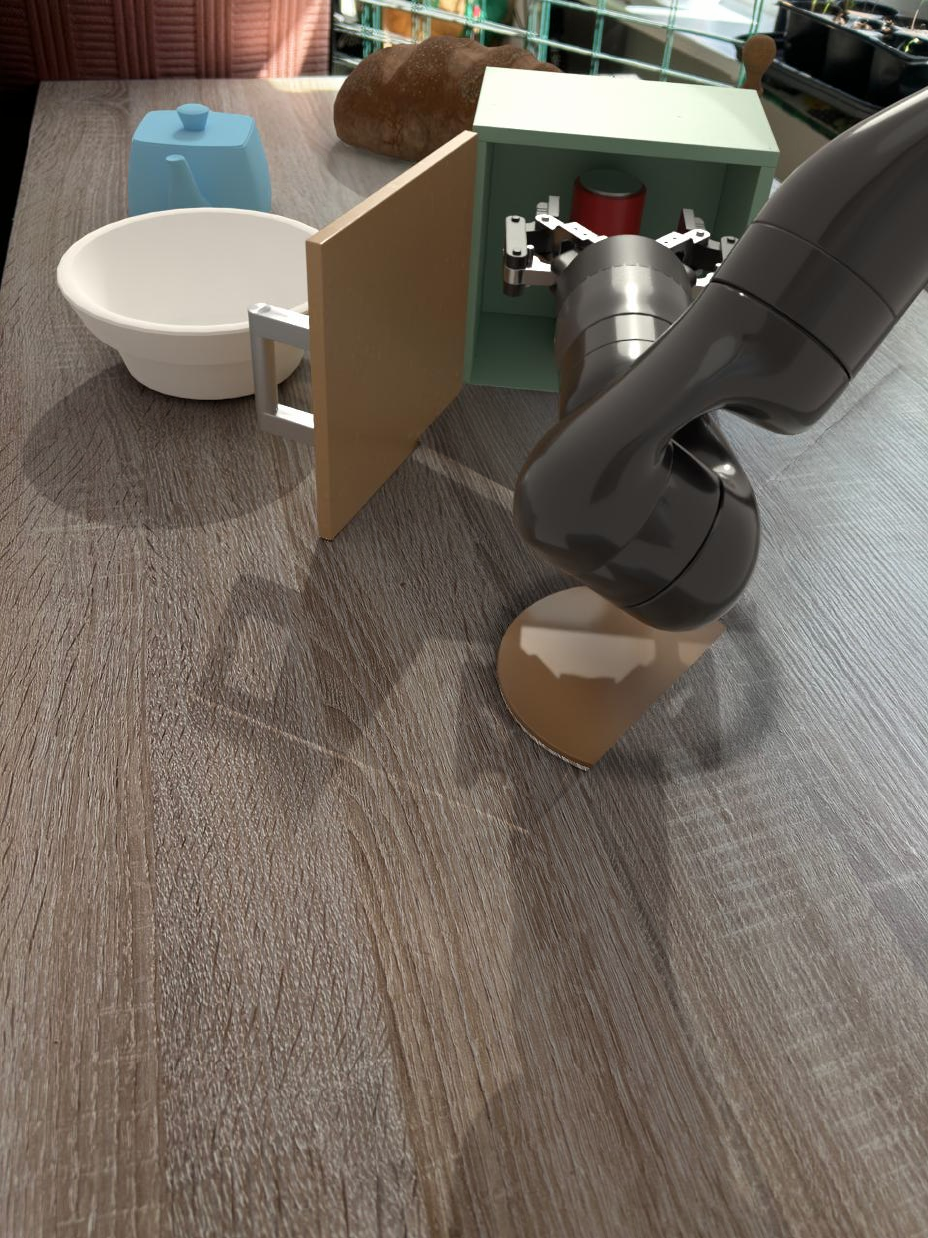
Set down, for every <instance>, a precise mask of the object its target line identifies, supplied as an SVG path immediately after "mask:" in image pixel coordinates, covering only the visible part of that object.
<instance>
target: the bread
mask: <svg viewBox="0 0 928 1238" xmlns="http://www.w3.org/2000/svg"><path fill="white" fill-rule="evenodd" d="M486 67H498V68H509V69H521V70H532V71H544V72H555V73H565V72H564V71H563V70H562V69H560V68H559V67H558V66H556V65H554V64H553V63H550V62H547V61H539V59H538V58H537V56H535V54H534V53H533V52H532V51H530V50H528V49H525V48H522V47H519V46H516V45H512V44H509V43H508V44H503V45H500V46H489V47H488V46H486V45H484V44H482V43H480V42H479V41H477V40H476V39H474V38H472V37H456V36H454V35H431V36H430V37H427V38H426V39H424V40H423V41H421V42H419V43H417V44H416V43H415V44H413V43H405V44H404V43H399V44H395V45H392V46H386V47H383V48H381V49H379V50H376V51H373V52H372V53H370V54H368V55H367V56H366V57H364V58H363V59H362V60H360V61H359V63H357V64H356V67H355V68H354V69H353V70H351V72H350V73H349V74H348V76H347V77H346V78H345V79H344V81H343V83H342V84H341V86H340V88H339V89H338V91H337V94H336V97H335V99H334V103H333V107H332V108H333V110H332V111H333V113H332V119H333V126H334V129H335V133H336V136H337V137H338V138H339V140H340V141H341V142H343V143H345V144H347V145H348V146H351V147H355V148H358V149H362V150H366V151H369V152H372V153H375V154H379V155H382V156H385V157H388V158H391V159H392V158H393V159H397V160H403V161H409V162H415V163H416V162H417V163H418V162H420V161H421V160H423V159H424V158H426V157H427V156H429V155H430V154H431V153H433V152H434V151H436V150H437V149H439V148H440V147H442V146H443V145H444V144H446V143H447V142H449V141H450V140H452V139H453V138H455V137H456V136H458V135H459V134H460V133H462V132H463V131H465V130H466V131H470V132H472V130H473V122H474V118H475V114H476V109H477V105H478V100H479V96H480V91H481V87H482V82H483V78H484V74H485V69H486Z"/></svg>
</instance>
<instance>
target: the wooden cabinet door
mask: <svg viewBox="0 0 928 1238" xmlns="http://www.w3.org/2000/svg"><path fill="white" fill-rule="evenodd" d="M477 144H478V133H475V132H470V131H466V130H465V131H463V132H462V133H460V134H459V135H458V136H456V137H455V138H453V139H452V140H450V141H449V142H447V143H446V144H444V145H443V146H442V147H440V148H439V149H437V150H436V151H434V152H433V153H431V154H430V155H429V156H427V157H426V158H424V159H423V160H421V161H420V162H417V163H415V164H414V165H413V166H411V167H410V168H408V169H407V170H405V171H403V172H402V173H401V174H400V175H398V176H397V177H395V178H394V179H392V180H391V181H389V182H388V183H387V184H385V185H384V186H382V187H380V188H379V189H378V190H377V191H375V192H374V193H372V194H370V195H369V196H368V197H366V198H365V199H364V200H362V201H361V202H359V203H357V204H356V205H355V206H353V207H352V208H350V209H348V210H347V211H346V212H344V213H343V214H342V215H340V216H339V217H337V218H336V219H334V220H333V221H332V222H330V223H329V224H327V225H326V226H324V227H323V228H321V229H320V230H318V231H319V232H317V233H316V234H314V235H313V236H311V237H310V238H308V239H307V240H306V241H305V247H306V269H307V291H308V313H309V316H307V315H303V314H300V313H296V312H293V311H289V310H285V309H282V308H278V307H275V306H271V305H268V304H264V303H256V304H252V305H250V306H249V307H248V321H249V332H250V344H251V355H252V367H253V378H254V390H255V393H254V400H255V401H254V402H255V412H256V423H257V424H256V425H257V428H258V429H259V430H260V431H262V432H266V433H269V434H272V435H275V436H278V437H281V438H284V439H287V440H291V441H293V442H297V443H300V444H302V445H306V446H309V447H312V448H314V465H315V466H314V467H315V468H314V469H315V485H316V487H315V489H316V511H317V531H318V537H319V536H321V537H324V538H327V539H328V540H327V541H329V540H332V541H334V539H335V538H336V537H337V536H338V535H339V534H340V533H341V532H342V531H343V529H344V528H345V527H346V526H347V525H348V524H349V523H350V522H351V521H352V519H353V518H354V517H355V516H356V515H358V513H359V512H360V511H361V510H362V508H364V506H365V505H366V504H367V503H368V502H369V501H370V500H371V499H372V497H374V495H375V494H376V493H377V492H378V491H379V490H380V489H381V488H382V487H383V485H384V484H385V483H386V482H387V481H388V480H389V479H390V478H391V477H392V476H393V475H394V473H395V472H396V471H397V470H398V469H399V468H400V467H401V466H402V464H403V463H405V461H406V460H407V459H408V458H409V457H410V456H411V455H412V454H413V453H414V451H415V450H416V449H418V447H419V446H420V445H421V443H422V442H421V441H420V440H418V439H419V438H420V437H421V435H423V433H424V432H425V431H426V430H428V428H429V427H430V426H431V425H432V423H434V421H435V420H436V419H437V418H438V417H439V416H440V415H441V414H442V413H443V412H444V411H445V410H446V408H447V407H448V406H449V405H450V404H451V403H452V402H453V401H454V400H455V398H456V397H457V396H458V395H459V394H460V393H461V392H462V391H463V384H462V379H463V363H464V348H465V332H466V316H467V301H468V285H469V269H470V254H471V238H472V223H473V207H474V191H475V176H476V160H477ZM274 341H277V342H281V343H284V344H287V345H291V346H294V347H298V348H301V349H304V350H305V351H308V352H309V353H310V355H309V356H310V358H309V359H310V376H311V377H310V378H311V380H310V381H311V398H312V399H311V401H312V413H309V412H307V411H303V410H299V409H296V408H294V407H290V406H287V405H284V404H281V403H279V390H278V384H277V374H276V360H275V345H274ZM338 533H339V534H338ZM337 534H338V535H337ZM336 535H337V536H336ZM335 536H336V537H335ZM334 537H335V538H334ZM333 538H334V539H333Z"/></svg>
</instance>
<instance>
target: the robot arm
mask: <svg viewBox="0 0 928 1238" xmlns="http://www.w3.org/2000/svg"><path fill="white" fill-rule="evenodd" d="M559 199H560V196H549V198H548V203H544V202H540V203H539V204H537V210H536V218H535V221H534V222H531V223H526V221H525V219H524V218H523V217H520V216H508V217H506V221H505V241H504V249H503V254H502V276H503V293H504V294H505V295H507V296H511V297H518V296H521V295H522V294H523V289H524V287H529V286H530V285H540V286H548V287H549V290H550V291H551V293H552V294H553V295H554V296H555V297H556V298H557V299H556V326H555V338H554V341H553V353H554V359H555V366H556V372H557V376H558V380H559V381H558V392H557V422H556V423H555V424H554V425H553V426H552V427H551V428H550V429H549V430H548V431H547V432H546V433H544V435H543V436H542V437H541V438H540V439H539V441H538V442H537V443H536V444H535V445H534V447H533V448H532V449H531V451H530V452H529V454H528V455H527V457H526V459H525V460H524V462H523V464H522V466H521V468H520V470H519V474H518V476H517V479H516V482H515V486H514V490H513V491H514V492H513V499H512V516H513V517H512V518H513V522H514V526H515V529H516V532H517V534H518V536H519V537H520V539H521V540H522V541H523V543H524V544H525V545H526V546H527V547H528V549H530V550H531V551H533V552H534V553H535V554H536V555H538V556H539V557H540V558H542V559H544V560H545V561H546V562H548V563H549V564H551V565H552V566H554V567H555V568H557V569H559V571H562V573H565V574H567V575H568V576H570V577H572V578H573V579H574V580H576V581H577V582H579V583H580V584H581V585H582V586H586V587H588V588H589V589H591V590H592V591H594V592H595V593H597V594H598V595H600V596H601V597H603V598H604V599H606V600H607V601H609V602H610V603H611V604H614V605H615V606H616V607H617V608H619V609H620V610H622V611H623V612H625V613H626V614H628V615H629V616H631V617H632V618H634V619H636V620H637V621H639V622H641V623H643V624H645V625H648V626H650V627H652V628H655V629H659V630H663V631H668V632H684V631H692V630H696V629H700V628H702V627H705V626H707V625H709V624H711V623H712V622H714V621H716V620H718V621H719V619H721V618H722V617H724V616H725V615H726V614H727V613H728V612H730V611H731V610H732V609H733V608H734V607H735V606H736V605H737V603H738V602H739V600H740V599H741V598H742V596H743V595H744V594H745V592H746V590H747V589H748V587H749V585H750V584H751V582H752V580H753V578H754V575H755V573H756V569H757V567H758V563H759V559H760V553H761V548H762V535H763V534H762V526H763V525H762V517H761V511H760V508H759V505H758V500H757V497H756V494H755V491H754V489H753V486H752V484H751V482H750V480H749V478H748V476H747V474H746V471H745V470H744V468H743V466H742V464H741V461H740V460H739V459H738V457H737V455H736V453H735V451H734V449H733V448H732V446H731V444H730V442H729V440H728V439H727V437H726V434H725V433H724V431H723V430H722V428H721V426H720V425H719V424H718V422H717V421H716V419H715V418H714V416H713V415H712V413H711V412H714V411H719V410H720V411H723V412H727V413H729V414H731V415H734V416H736V417H738V418H740V419H741V420H744V421H746V422H748V423H750V424H752V425H754V426H757V428H761V429H763V430H766V431H767V432H771V433H774V434H778V435H782V436H796V435H801V434H803V433H805V432H807V431H809V430H810V429H812V428H813V427H814V426H816V425H817V424H818V423H819V422H820V421H821V419H823V418H824V417H825V415H827V413H828V412H829V411H830V410H831V409H832V408H833V406H834V405H835V403H837V401H838V400H839V398H840V397H841V396H842V395H843V394H844V392H845V391H846V390H847V388H848V387H849V386H850V383H851V382H852V381H853V380H854V379H855V378H856V377H857V376H858V375H859V373H860V372H861V370H862V369H863V368H864V366H865V365H866V364H867V363H868V361H869V360H870V359H871V357H872V356H873V355H874V354H875V352H876V351H877V350H878V348H879V347H880V346H881V345H882V343H883V342H884V341H885V339H886V338H887V337H888V336H889V334H890V333H891V332H892V330H893V329H894V328H895V326H896V325H897V324H898V323H899V321H900V320H901V319H902V317H903V316H904V315H905V314H906V312H907V311H908V309H909V308H910V307H911V306H912V304H913V303H914V301H915V300H916V299H917V298H918V297H919V295H920V294H921V292H923V290H924V288H925V287H926V286H927V285H928V85H927V86H925V87H923V88H921V89H919V90H917V91H915V92H914V93H912V94H909V95H908V96H905V97H903V98H901V99H899V100H898V101H895V102H894V103H892V104H890V105H889V106H887V107H884V108H883V109H881V110H879V111H877V112H876V113H873V114H872V115H870V116H868V117H867V118H865V119H863V120H860V121H859V122H857V123H856V124H854V125H853V126H851V127H849V128H848V129H846V130H844V131H843V132H842V133H840V134H838V135H836V137H834V138H833V139H831V140H830V141H828V142H827V143H826V144H824V145H823V146H821V147H820V148H819V149H817V150H815V152H813V153H812V154H811V155H810V156H808V157H807V159H805V160H804V161H803V162H802V163H800V164H799V165H798V166H797V167H796V168H795V169H794V170H793V171H792V172H791V173H790V174H789V175H788V176H787V177H786V178H785V179H784V180H783V181H782V182H781V183H780V184H779V185H778V186H777V188H776V189H775V191H774V192H773V193H772V194H770V196H769V199H768V200H767V201H766V203H765V204H764V205H763V207H762V208H761V209H760V211H759V212H758V214H757V215H756V216H755V218H754V219H753V220H752V222H751V223H750V225H749V226H748V227H747V229H746V230H745V231H744V233H743V234H742V236H741V237H740V238H739V239H738V238H735V237H732V236H725V237H722V238H721V241H720V242H716V241H713V240H711V239H709V238H710V233H709V232H707V231H706V229H705V225H704V221H703V220H702V219H701V218H699V217H695V216H694V211H693V209H683V208H682V210H681V214H680V219H679V224H678V229H677V232H675V231H674V232H672V233H670V234H668V235H665V236H663V237H661V238H659V239H657V240H653V239H650V238H647V237H643V236H638V235H617V236H612V237H607V236H605V235H602V236H598V235H596V234H594V233H593V232H591V231H589V230H588V229H586V228H585V227H583V226H581V225H580V224H578V223H577V222H571V223H566V224H564V223H562V222H561V221H559V220H558V219H559ZM576 245H577V247H576ZM702 270H706V271H710V272H713V273H709V274H707V276H706V277H705V278H703V279H697V276H698V275H700V274H701V273H702ZM693 300H694V302H693Z"/></svg>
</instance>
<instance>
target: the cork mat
mask: <svg viewBox="0 0 928 1238" xmlns="http://www.w3.org/2000/svg"><path fill="white" fill-rule="evenodd" d="M727 629H728V627H727V626H726V625H725V624H724V623H722V622H721V621H720V620H719V619H718V620H716V621H714V622H712V623H711V624H709V625H707V626H705V627H702V628H700V629H696V630H692V631H684V632H668V631H663V630H659V629H655V628H652V627H650V626H648V625H645V624H643V623H641V622H639V621H637V620H636V619H634V618H632V617H631V616H629V615H628V614H626V613H625V612H623V611H622V610H620V609H619V608H617V607H616V606H615V605H614V604H611V603H610V602H609V601H607V600H606V599H604V598H603V597H601V596H600V595H598V594H597V593H595V592H594V591H592V590H591V589H589V588H588V587H586V586H585V585H579V586H573V587H569V588H566V589H562V590H559V591H556V592H553V593H551V594H548V595H546V596H543V597H541V598H540V599H537V600H536V601H534V602H533V603H531V604H530V605H529V606H528V607H526V608H525V609H524V610H522V611H521V612H520V613H519V614H518V615H517V616H516V617H515V618H514V619H513V620H512V622H511V623H510V625H509V626H508V627H507V629H506V631H505V633H504V634H503V637H501V638H502V639H501V642H500V645H499V648H498V654H497V661H496V677H497V676H498V681H499V685H500V689H501V692H502V694H503V697H504V699H505V701H506V704H507V705H508V707H509V708H510V710H511V712H512V713H513V715H514V716H515V717H516V719H517V720H518V721H519V722H520V723H521V725H522V726H523V727H524V728H525V729H526V730H527V731H528V732H529V733H530V734H531V735H532V736H534V737H535V738H536V739H537V740H538V741H540V742H541V743H542V744H544V745H545V746H546V747H548V748H549V749H551V750H552V751H554V752H556V753H558V754H559V755H561V756H563V757H565V758H566V759H569V760H571V761H573V762H575V763H578V764H580V765H582V766H585V767H588V768H590V769H591V768H592V767H594V766H595V764H596V763H597V762H598V761H599V760H601V758H602V757H603V756H604V755H605V754H606V753H607V752H608V751H609V750H610V749H611V748H612V747H613V746H614V745H615V744H616V743H617V742H618V741H619V740H620V739H621V738H622V737H623V736H624V735H625V734H626V733H627V732H628V731H629V730H630V729H631V728H632V726H633V725H635V723H637V721H638V720H639V719H641V717H643V715H645V713H647V711H648V710H649V709H650V708H651V707H652V706H653V705H654V704H655V703H657V701H658V700H659V699H660V698H661V697H662V696H663V695H664V694H665V693H666V692H667V691H668V690H669V689H670V688H671V687H672V685H674V683H676V682H677V681H678V679H680V678H681V676H683V674H685V673H686V671H688V670H689V668H690V667H691V666H692V665H693V664H694V663H695V662H696V661H697V660H698V659H699V658H700V657H701V656H702V655H703V654H704V653H705V652H706V651H707V650H708V649H710V647H711V646H712V645H713V644H714V643H715V642H716V641H717V640H718V639H719V637H721V636H722V635H723V633H725V632H726V631H727ZM497 674H498V675H497Z"/></svg>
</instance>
